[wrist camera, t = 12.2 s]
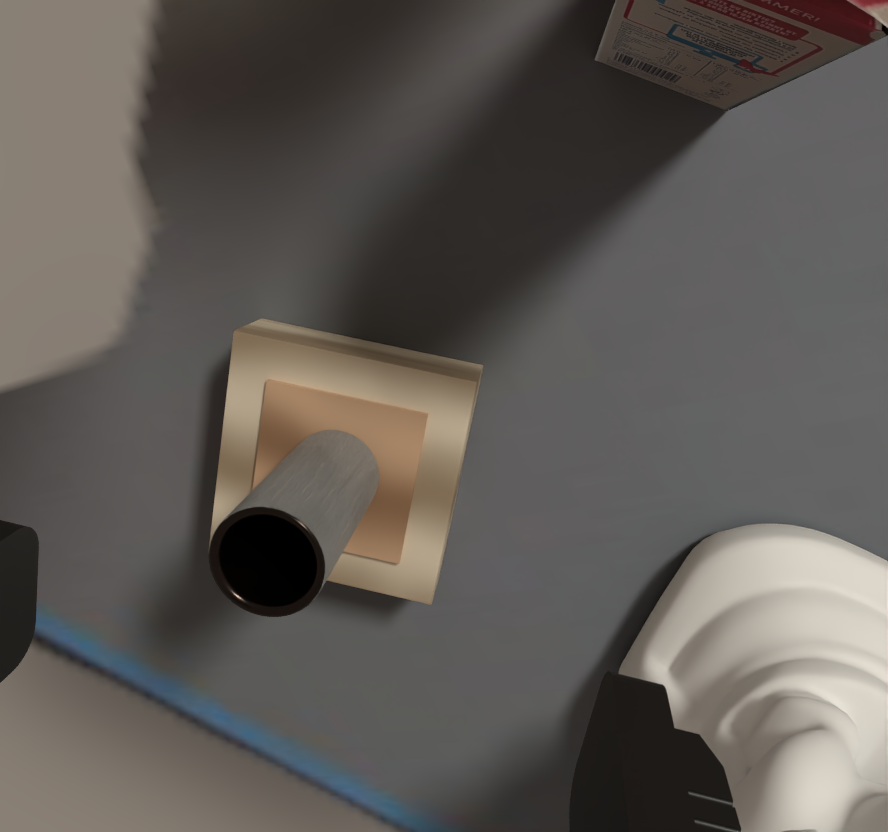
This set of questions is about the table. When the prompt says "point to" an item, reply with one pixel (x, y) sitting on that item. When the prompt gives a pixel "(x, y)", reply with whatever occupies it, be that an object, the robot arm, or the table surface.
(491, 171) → the table surface
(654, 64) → the juice carton
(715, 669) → the statue
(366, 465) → the grey and black cylinder
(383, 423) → the plinth
